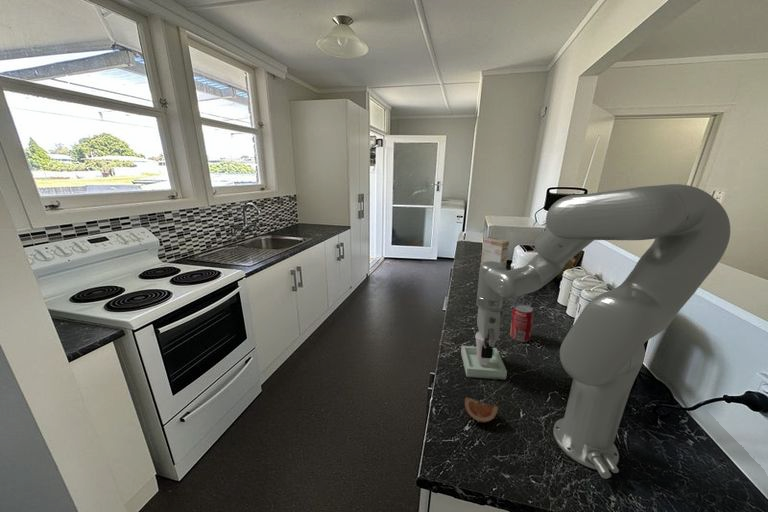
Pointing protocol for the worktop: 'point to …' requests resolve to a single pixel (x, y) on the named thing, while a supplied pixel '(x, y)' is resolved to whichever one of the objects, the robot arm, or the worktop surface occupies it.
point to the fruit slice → (480, 410)
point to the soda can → (521, 323)
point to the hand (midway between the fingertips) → (484, 350)
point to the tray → (482, 371)
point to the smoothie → (479, 349)
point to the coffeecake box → (494, 250)
